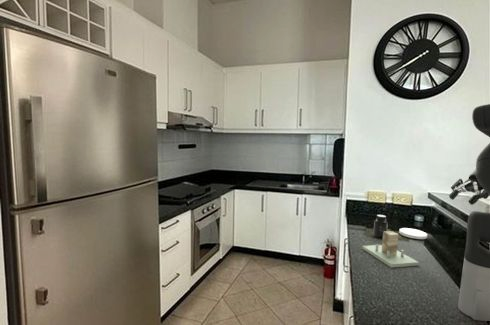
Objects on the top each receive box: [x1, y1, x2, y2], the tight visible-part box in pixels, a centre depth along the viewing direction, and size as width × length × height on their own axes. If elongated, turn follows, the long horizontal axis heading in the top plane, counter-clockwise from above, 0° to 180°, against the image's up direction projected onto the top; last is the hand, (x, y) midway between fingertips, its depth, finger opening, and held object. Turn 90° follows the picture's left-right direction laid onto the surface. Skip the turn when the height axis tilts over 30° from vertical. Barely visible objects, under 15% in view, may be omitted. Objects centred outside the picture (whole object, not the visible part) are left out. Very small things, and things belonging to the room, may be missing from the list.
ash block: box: [381, 230, 400, 256], centre depth 135 cm, size 4×4×10 cm
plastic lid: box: [398, 227, 428, 240], centre depth 165 cm, size 14×14×2 cm
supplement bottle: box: [372, 214, 389, 239], centre depth 161 cm, size 7×7×12 cm
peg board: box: [362, 244, 420, 268], centre depth 135 cm, size 20×14×4 cm
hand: (460, 200), depth 120 cm, fingers open, 8 cm apart
